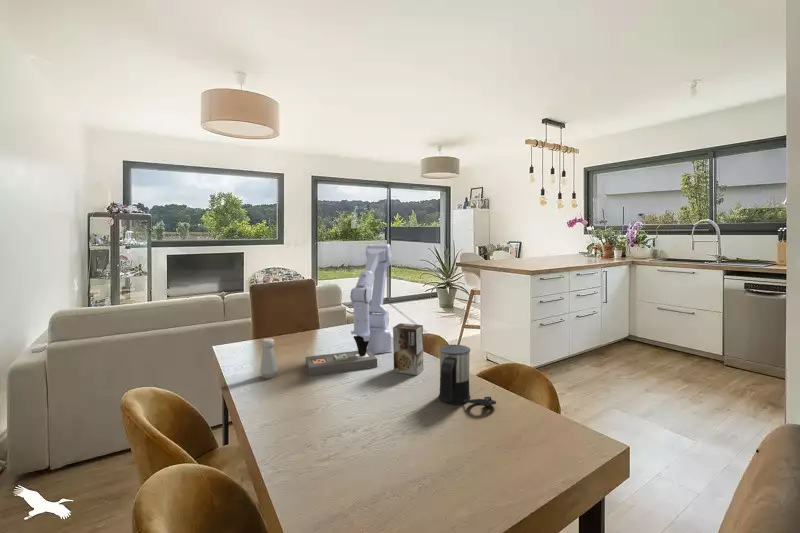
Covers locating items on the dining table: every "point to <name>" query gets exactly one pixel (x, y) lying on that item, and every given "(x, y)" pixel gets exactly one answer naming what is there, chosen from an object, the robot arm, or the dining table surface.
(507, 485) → the dining table surface
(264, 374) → the salt shaker
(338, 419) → the dining table surface
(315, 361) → the button three
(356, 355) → the button one
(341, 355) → the button two
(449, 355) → the milk frother
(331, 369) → the button board
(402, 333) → the printed cardboard box
